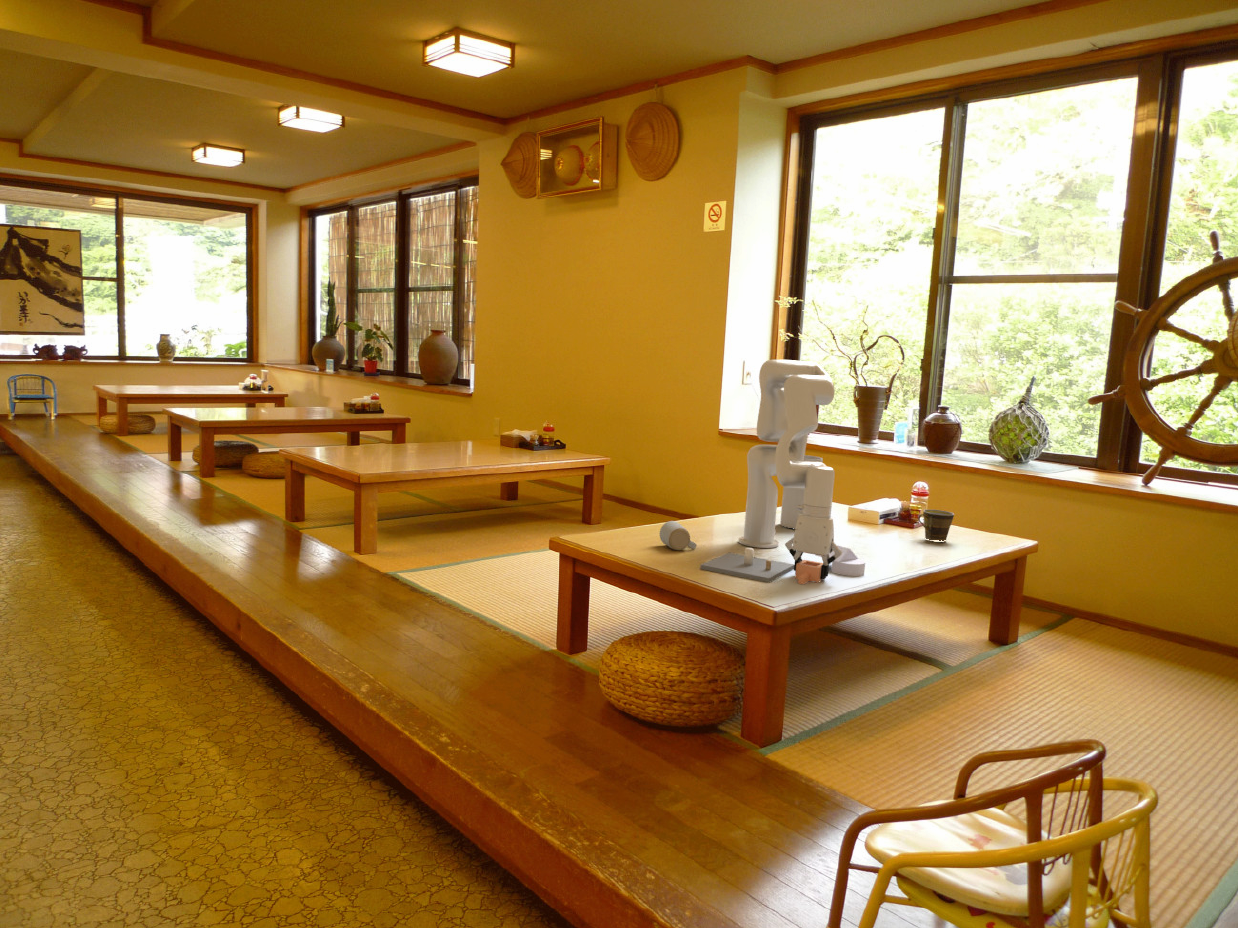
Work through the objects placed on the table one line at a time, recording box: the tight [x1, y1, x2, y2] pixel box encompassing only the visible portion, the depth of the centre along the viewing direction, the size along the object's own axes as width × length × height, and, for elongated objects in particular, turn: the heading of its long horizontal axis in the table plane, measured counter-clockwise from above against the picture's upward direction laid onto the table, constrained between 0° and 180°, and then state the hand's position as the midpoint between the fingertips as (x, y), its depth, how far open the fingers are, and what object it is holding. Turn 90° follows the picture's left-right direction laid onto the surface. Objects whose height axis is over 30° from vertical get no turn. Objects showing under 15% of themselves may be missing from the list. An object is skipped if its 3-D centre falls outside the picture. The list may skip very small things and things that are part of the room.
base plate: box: [699, 547, 795, 583], centre depth 244 cm, size 20×20×6 cm
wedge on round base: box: [815, 544, 866, 577], centre depth 250 cm, size 9×7×13 cm
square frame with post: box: [794, 559, 823, 585], centre depth 236 cm, size 11×6×4 cm, turn 149°
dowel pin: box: [766, 559, 772, 570], centre depth 240 cm, size 1×1×2 cm
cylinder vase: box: [779, 454, 824, 530], centre depth 309 cm, size 12×12×25 cm
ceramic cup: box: [917, 509, 955, 541], centre depth 300 cm, size 13×10×10 cm
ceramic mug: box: [659, 520, 697, 551], centre depth 264 cm, size 11×8×8 cm
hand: (810, 575), depth 239 cm, fingers closed on square frame with post, 6 cm apart
